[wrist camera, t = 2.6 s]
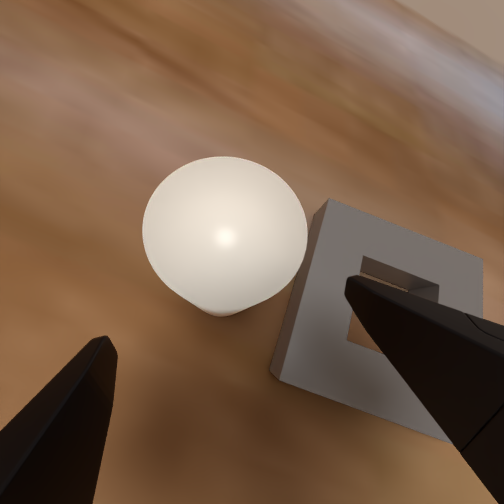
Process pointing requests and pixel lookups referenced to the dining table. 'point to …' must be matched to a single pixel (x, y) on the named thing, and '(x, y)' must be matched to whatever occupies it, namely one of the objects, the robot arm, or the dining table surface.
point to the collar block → (339, 310)
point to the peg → (224, 233)
